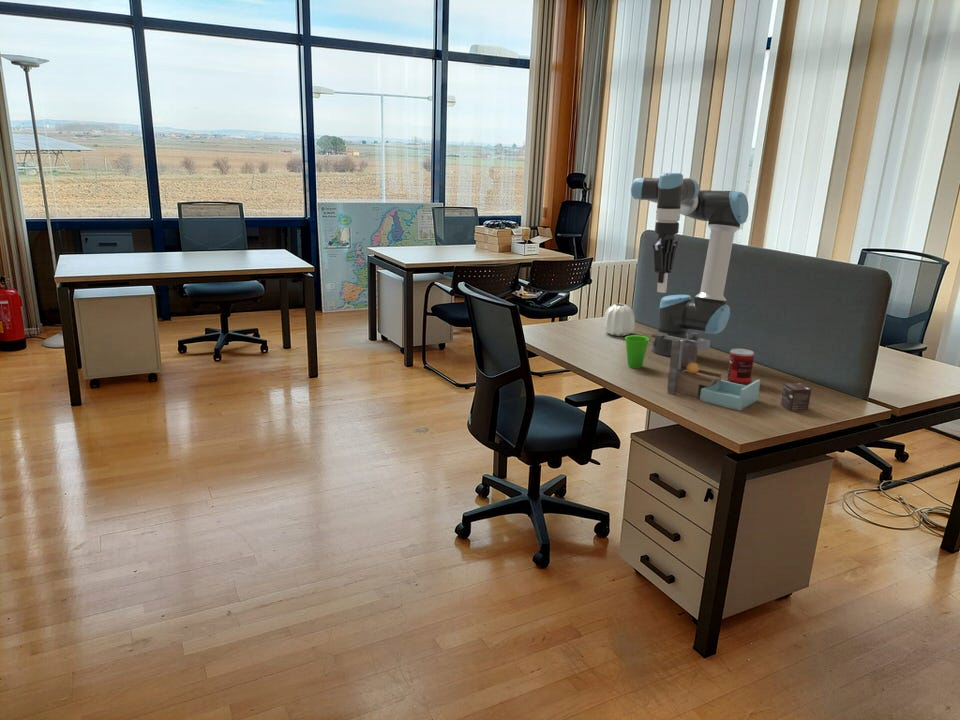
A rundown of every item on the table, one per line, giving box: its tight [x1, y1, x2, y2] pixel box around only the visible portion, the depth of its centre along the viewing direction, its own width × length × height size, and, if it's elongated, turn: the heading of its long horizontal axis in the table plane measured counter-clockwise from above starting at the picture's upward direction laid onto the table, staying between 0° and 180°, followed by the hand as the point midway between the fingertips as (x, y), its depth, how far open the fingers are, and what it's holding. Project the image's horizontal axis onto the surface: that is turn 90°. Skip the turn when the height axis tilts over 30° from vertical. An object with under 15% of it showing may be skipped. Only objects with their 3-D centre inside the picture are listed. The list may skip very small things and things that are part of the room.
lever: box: [651, 331, 711, 372], centre depth 232 cm, size 11×19×12 cm, turn 47°
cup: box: [624, 334, 650, 369], centre depth 257 cm, size 9×9×11 cm
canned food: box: [727, 348, 755, 385], centre depth 241 cm, size 8×8×11 cm
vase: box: [602, 303, 636, 337], centre depth 304 cm, size 14×14×13 cm
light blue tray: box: [699, 379, 761, 412], centre depth 222 cm, size 14×14×7 cm
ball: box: [686, 362, 700, 374], centre depth 230 cm, size 4×4×4 cm
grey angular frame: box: [667, 331, 723, 398], centre depth 229 cm, size 14×15×18 cm
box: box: [780, 382, 812, 412], centre depth 216 cm, size 6×6×7 cm
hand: (661, 291), depth 232 cm, fingers closed
